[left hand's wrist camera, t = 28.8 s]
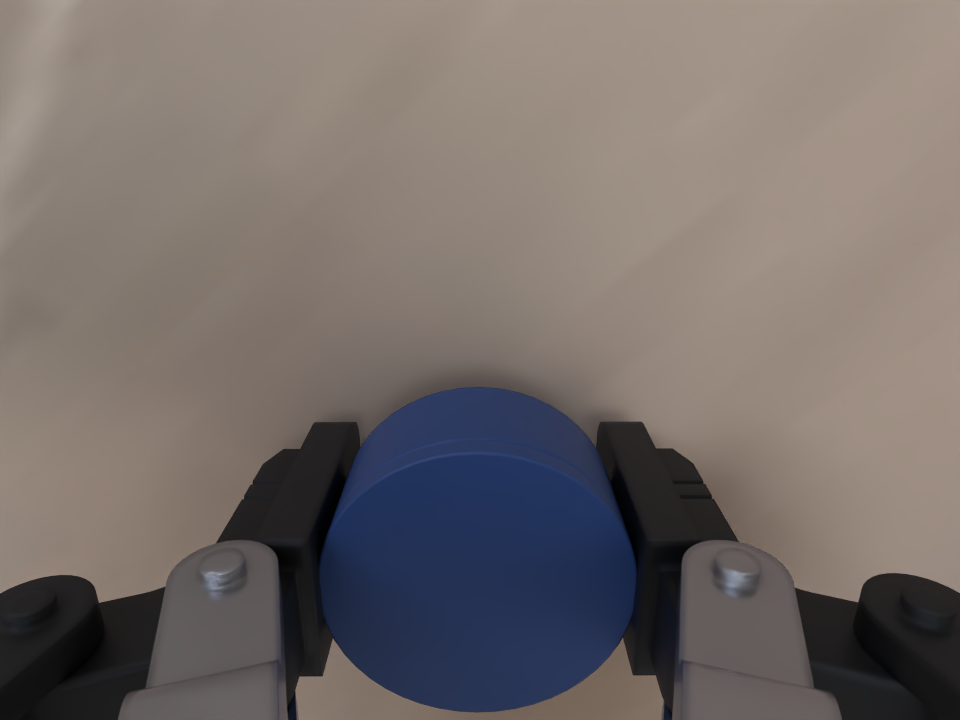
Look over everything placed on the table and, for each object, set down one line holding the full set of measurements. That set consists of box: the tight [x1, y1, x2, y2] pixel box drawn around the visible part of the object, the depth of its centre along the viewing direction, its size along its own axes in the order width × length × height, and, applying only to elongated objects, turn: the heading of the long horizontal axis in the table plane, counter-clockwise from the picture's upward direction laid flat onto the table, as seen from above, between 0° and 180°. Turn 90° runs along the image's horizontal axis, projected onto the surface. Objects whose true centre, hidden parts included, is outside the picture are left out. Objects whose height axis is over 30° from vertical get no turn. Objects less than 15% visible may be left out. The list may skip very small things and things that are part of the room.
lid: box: [319, 387, 637, 712], centre depth 10 cm, size 4×4×2 cm
